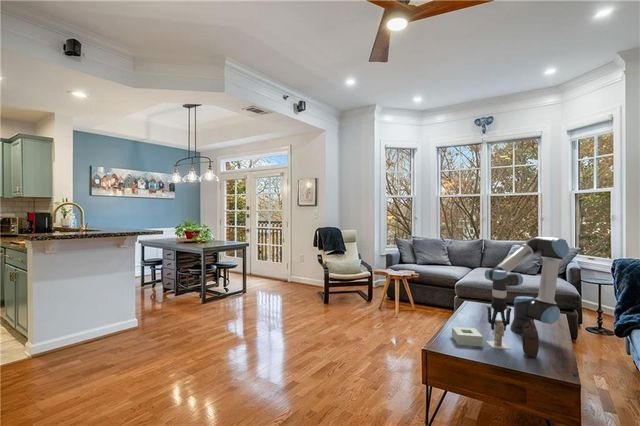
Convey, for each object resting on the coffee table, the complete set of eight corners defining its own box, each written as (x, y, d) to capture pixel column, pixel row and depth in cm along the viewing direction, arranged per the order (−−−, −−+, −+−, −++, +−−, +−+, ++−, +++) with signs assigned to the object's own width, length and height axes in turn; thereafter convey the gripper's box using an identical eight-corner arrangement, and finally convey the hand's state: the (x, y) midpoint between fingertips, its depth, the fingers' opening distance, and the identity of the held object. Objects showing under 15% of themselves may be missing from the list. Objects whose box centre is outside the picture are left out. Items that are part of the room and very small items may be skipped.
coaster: (503, 342, 205) (503, 341, 205) (510, 349, 195) (510, 348, 195) (486, 341, 206) (486, 340, 206) (492, 347, 196) (492, 347, 196)
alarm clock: (520, 350, 194) (521, 315, 194) (535, 352, 190) (536, 317, 190) (522, 360, 181) (523, 323, 181) (538, 363, 177) (539, 325, 177)
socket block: (474, 337, 212) (475, 328, 212) (482, 346, 198) (482, 336, 198) (451, 336, 213) (451, 326, 213) (457, 344, 200) (458, 334, 200)
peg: (500, 342, 202) (500, 319, 202) (502, 345, 198) (503, 321, 198) (493, 342, 203) (493, 319, 203) (495, 345, 199) (496, 321, 199)
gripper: (511, 295, 203) (510, 334, 203) (481, 294, 205) (480, 332, 205) (517, 299, 195) (516, 339, 195) (486, 297, 198) (485, 336, 198)
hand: (498, 335), depth 200 cm, fingers open, 4 cm apart
